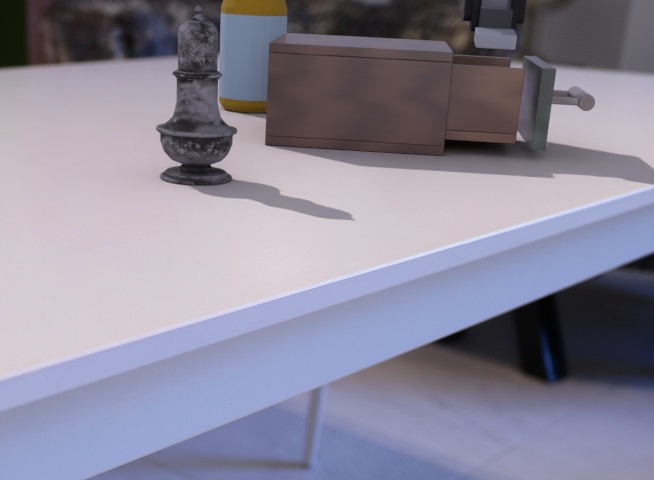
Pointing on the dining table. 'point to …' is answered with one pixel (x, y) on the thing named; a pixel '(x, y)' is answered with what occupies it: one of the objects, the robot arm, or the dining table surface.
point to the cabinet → (358, 93)
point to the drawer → (505, 100)
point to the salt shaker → (196, 110)
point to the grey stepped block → (495, 26)
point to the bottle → (248, 51)
